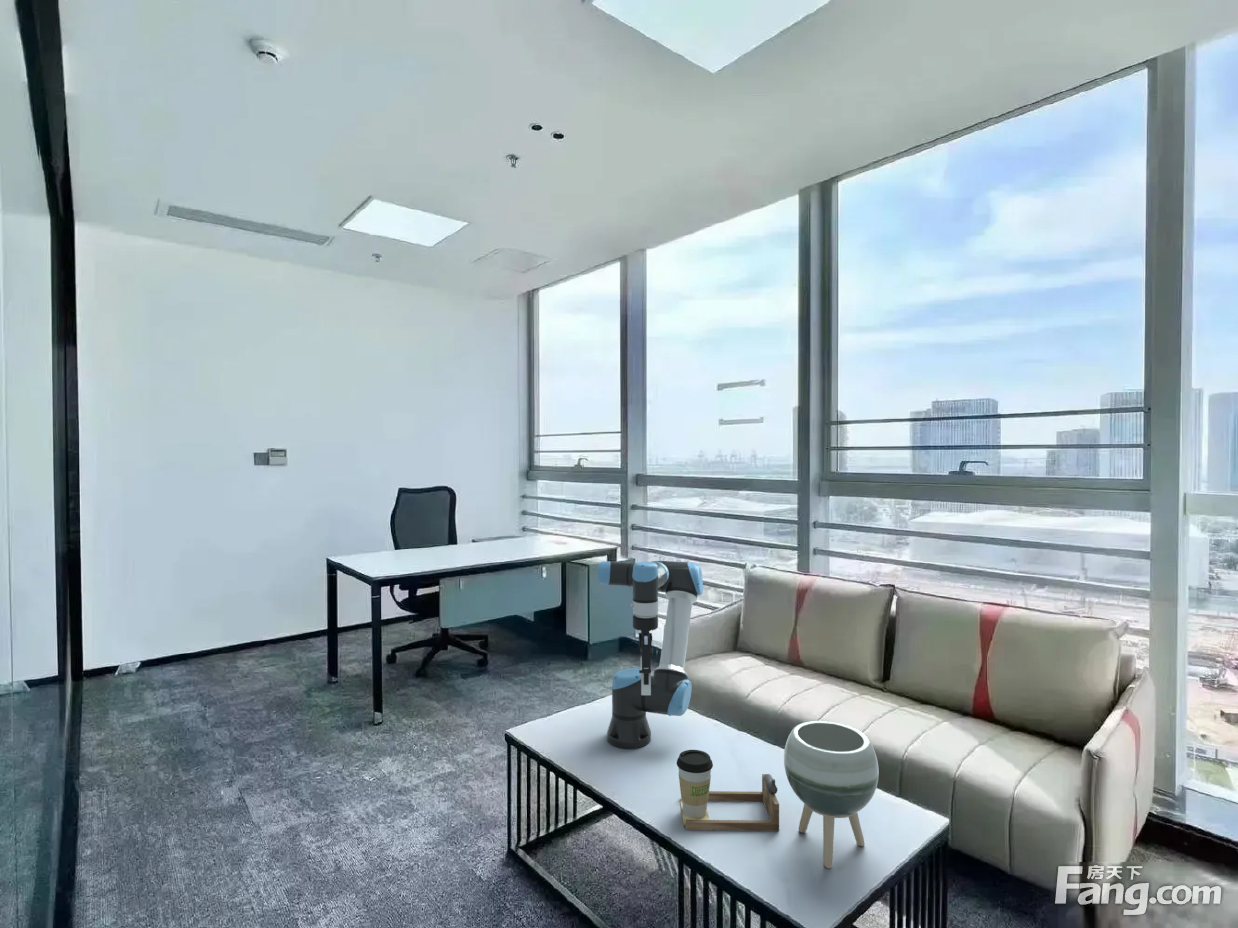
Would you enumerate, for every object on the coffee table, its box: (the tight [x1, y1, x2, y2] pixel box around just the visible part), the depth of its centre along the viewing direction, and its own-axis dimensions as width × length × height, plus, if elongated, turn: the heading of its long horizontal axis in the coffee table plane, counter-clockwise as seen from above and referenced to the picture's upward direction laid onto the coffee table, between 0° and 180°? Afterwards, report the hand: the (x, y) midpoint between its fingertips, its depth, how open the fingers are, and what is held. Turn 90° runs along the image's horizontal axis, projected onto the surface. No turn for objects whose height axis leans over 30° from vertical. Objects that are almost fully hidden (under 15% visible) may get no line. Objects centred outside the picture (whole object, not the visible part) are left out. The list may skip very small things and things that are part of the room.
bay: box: [679, 773, 780, 832], centre depth 167 cm, size 15×25×11 cm, turn 89°
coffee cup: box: [676, 749, 714, 818], centre depth 167 cm, size 10×10×15 cm
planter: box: [783, 720, 880, 869], centre depth 153 cm, size 22×22×28 cm
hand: (645, 685), depth 183 cm, fingers open, 13 cm apart
